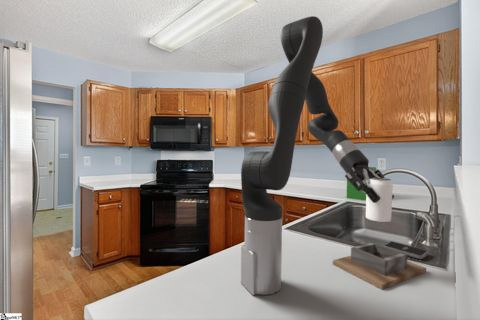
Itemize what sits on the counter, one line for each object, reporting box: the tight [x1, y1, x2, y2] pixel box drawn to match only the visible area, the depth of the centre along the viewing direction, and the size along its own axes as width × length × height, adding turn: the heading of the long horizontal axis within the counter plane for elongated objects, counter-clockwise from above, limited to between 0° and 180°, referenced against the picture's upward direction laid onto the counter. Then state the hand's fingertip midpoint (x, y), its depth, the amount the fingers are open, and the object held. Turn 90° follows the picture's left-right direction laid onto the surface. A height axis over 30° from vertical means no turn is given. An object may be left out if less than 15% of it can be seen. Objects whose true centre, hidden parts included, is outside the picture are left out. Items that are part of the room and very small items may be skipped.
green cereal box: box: [346, 166, 377, 202], centre depth 181 cm, size 18×7×24 cm, turn 47°
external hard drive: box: [383, 241, 429, 261], centre depth 82 cm, size 7×11×2 cm, turn 38°
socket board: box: [332, 242, 427, 290], centre depth 70 cm, size 20×15×5 cm
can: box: [365, 177, 393, 224], centre depth 70 cm, size 6×6×12 cm
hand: (384, 200), depth 69 cm, fingers closed on can, 6 cm apart
